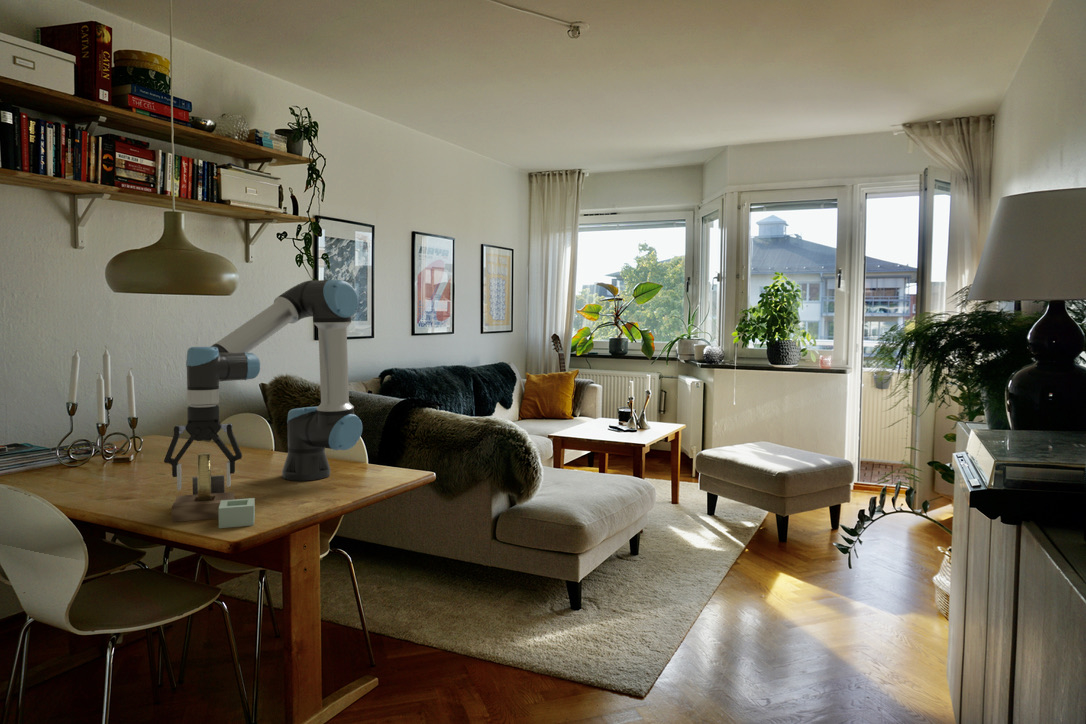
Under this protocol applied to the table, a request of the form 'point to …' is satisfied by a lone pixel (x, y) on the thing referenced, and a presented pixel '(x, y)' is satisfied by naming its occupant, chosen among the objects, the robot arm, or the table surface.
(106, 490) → the table surface
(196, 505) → the socket block
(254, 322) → the robot arm
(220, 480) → the grey t-shaped plug
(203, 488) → the peg
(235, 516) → the hollow square block
